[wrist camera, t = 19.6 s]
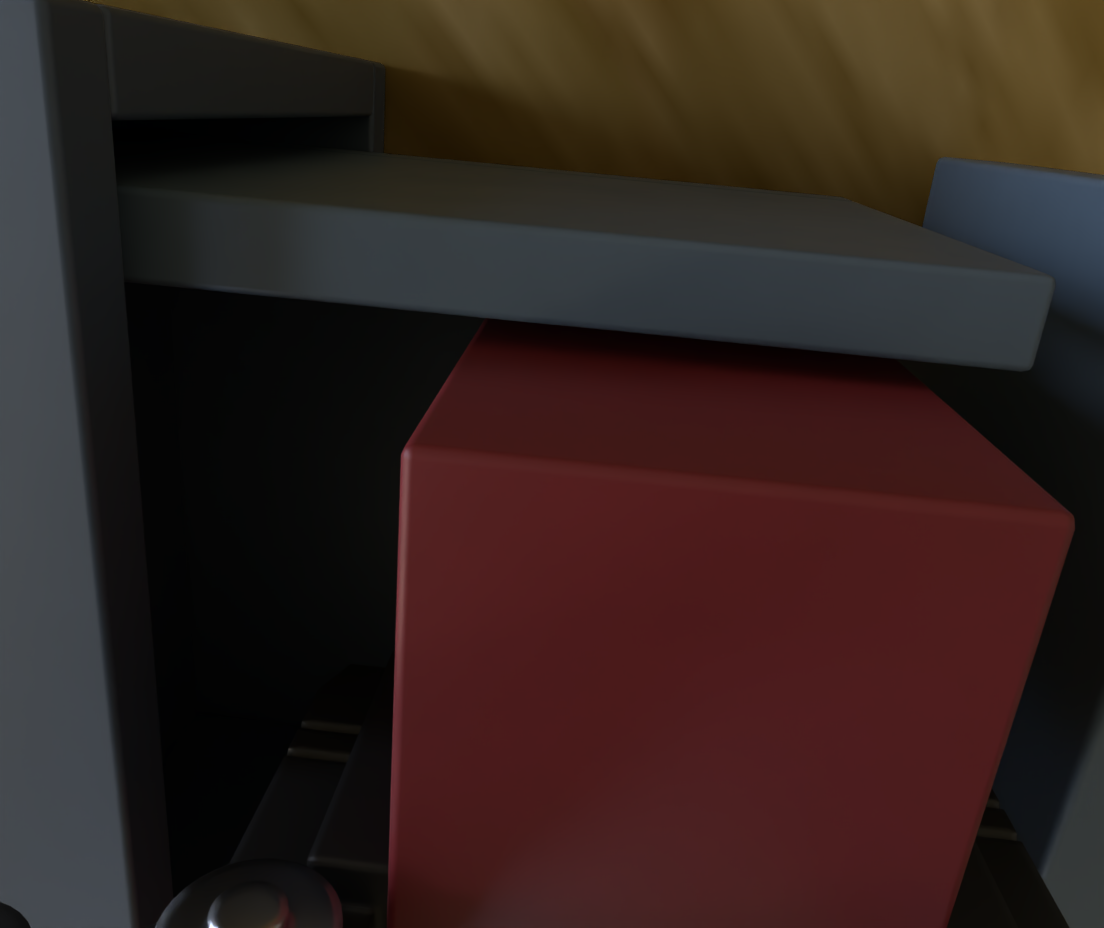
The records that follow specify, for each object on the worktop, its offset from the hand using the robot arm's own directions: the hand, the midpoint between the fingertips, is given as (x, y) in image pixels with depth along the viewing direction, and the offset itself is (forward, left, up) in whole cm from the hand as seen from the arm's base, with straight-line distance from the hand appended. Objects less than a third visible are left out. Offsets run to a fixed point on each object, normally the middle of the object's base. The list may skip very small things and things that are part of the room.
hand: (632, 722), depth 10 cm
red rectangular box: (0, 0, 0) cm, 0 cm away
